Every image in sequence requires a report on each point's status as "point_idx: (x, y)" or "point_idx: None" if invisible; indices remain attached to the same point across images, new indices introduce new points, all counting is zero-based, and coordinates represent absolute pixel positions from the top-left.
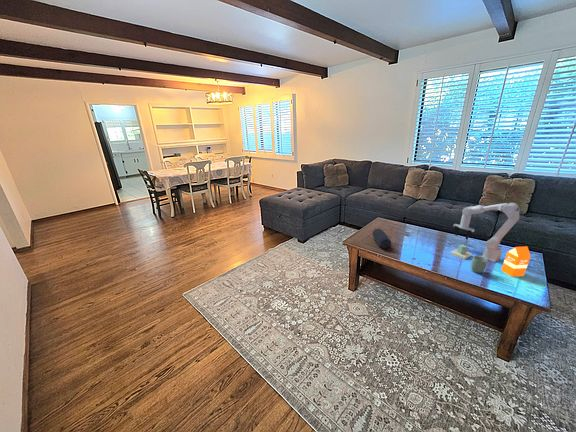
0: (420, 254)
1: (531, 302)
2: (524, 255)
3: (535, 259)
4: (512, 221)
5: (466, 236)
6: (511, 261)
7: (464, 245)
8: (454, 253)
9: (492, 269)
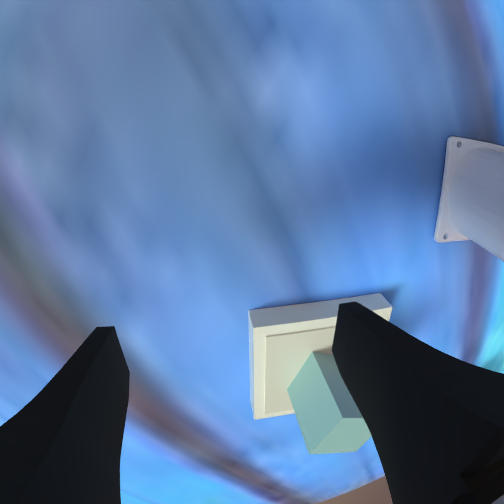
0: (170, 495)
1: None
2: None
3: None
4: None
5: (367, 407)
6: None
7: (360, 421)
8: (286, 411)
9: (486, 330)
